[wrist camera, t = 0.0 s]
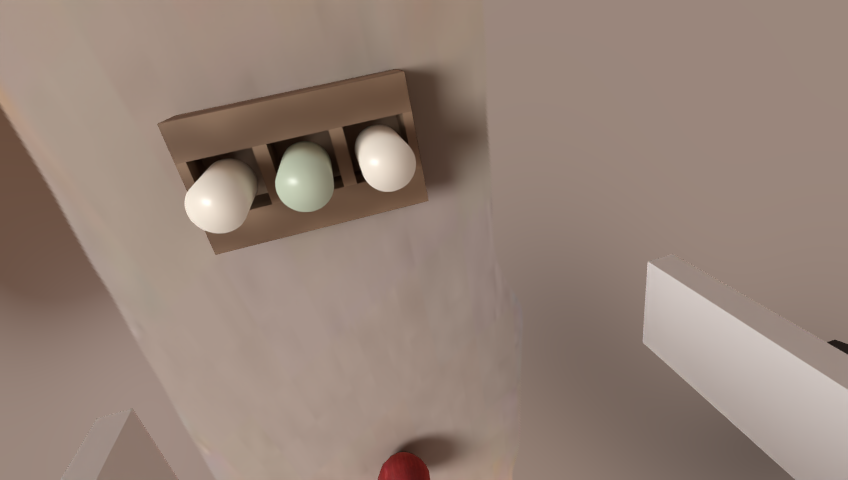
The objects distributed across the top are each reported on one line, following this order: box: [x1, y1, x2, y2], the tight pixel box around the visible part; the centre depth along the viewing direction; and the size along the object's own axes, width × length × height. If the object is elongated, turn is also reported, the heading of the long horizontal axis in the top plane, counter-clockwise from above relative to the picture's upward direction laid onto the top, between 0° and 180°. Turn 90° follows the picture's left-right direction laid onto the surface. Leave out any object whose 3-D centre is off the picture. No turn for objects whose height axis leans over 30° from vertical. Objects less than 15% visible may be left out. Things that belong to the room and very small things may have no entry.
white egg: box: [355, 124, 416, 192], centre depth 31 cm, size 4×4×5 cm
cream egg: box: [185, 158, 258, 233], centre depth 29 cm, size 4×4×5 cm
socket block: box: [157, 69, 428, 255], centre depth 34 cm, size 10×17×4 cm, turn 101°
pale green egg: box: [275, 141, 334, 212], centre depth 30 cm, size 4×4×5 cm
